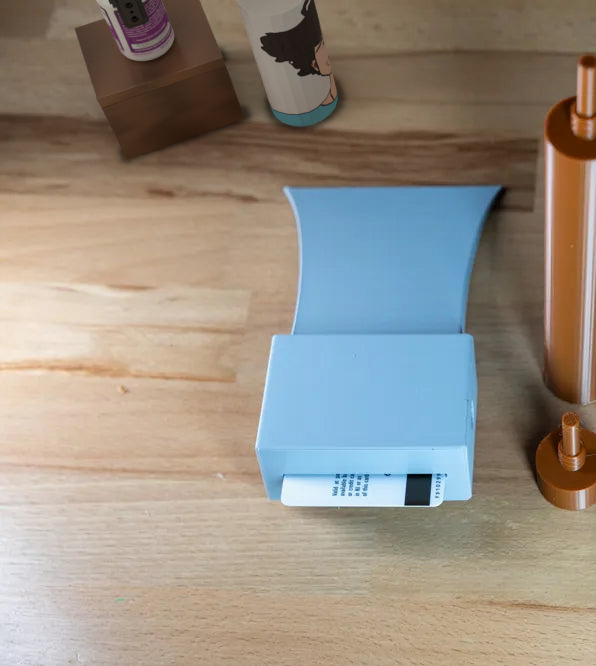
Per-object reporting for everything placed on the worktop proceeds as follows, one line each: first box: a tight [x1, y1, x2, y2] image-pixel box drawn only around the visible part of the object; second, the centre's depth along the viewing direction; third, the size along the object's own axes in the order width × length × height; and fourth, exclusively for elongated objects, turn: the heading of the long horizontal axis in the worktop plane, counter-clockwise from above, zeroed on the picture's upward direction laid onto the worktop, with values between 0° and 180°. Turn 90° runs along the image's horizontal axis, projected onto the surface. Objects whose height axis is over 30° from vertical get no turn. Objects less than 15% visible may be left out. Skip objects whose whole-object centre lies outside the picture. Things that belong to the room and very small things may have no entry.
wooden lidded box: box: [74, 0, 246, 160], centre depth 115 cm, size 12×10×9 cm
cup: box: [235, 0, 339, 127], centre depth 111 cm, size 7×7×15 cm
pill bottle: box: [95, 0, 174, 61], centre depth 107 cm, size 5×5×10 cm
